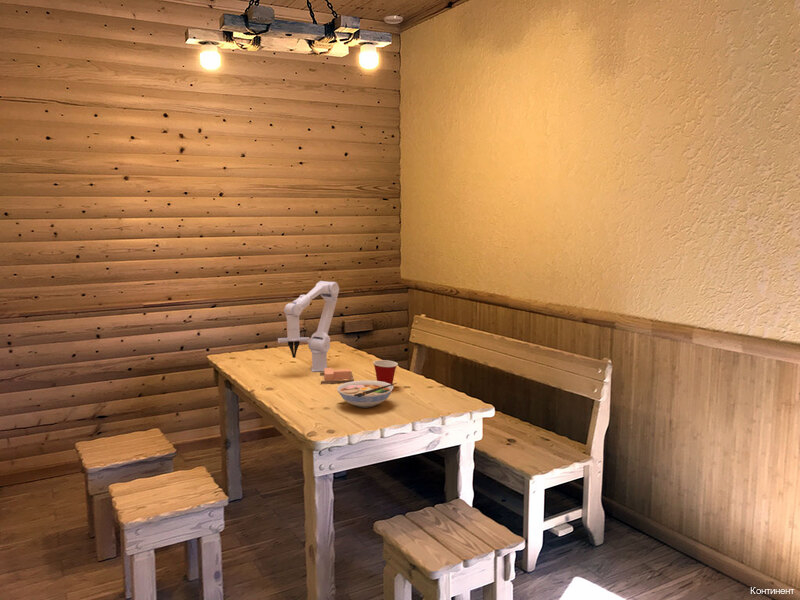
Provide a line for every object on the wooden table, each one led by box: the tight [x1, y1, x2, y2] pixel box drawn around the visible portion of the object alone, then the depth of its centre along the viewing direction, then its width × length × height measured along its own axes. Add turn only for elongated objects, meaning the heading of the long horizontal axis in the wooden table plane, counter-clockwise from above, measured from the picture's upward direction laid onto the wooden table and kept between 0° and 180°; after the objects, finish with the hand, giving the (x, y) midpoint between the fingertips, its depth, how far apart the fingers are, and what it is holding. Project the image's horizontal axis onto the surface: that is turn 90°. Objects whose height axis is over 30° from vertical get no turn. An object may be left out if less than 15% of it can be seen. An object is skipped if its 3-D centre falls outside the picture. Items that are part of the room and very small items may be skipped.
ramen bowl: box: [336, 379, 398, 409], centre depth 264 cm, size 25×23×8 cm
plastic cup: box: [372, 359, 399, 385], centre depth 288 cm, size 11×11×12 cm
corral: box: [319, 371, 355, 385], centre depth 307 cm, size 17×15×1 cm
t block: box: [323, 367, 352, 381], centre depth 306 cm, size 12×12×4 cm
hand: (294, 357), depth 309 cm, fingers closed
